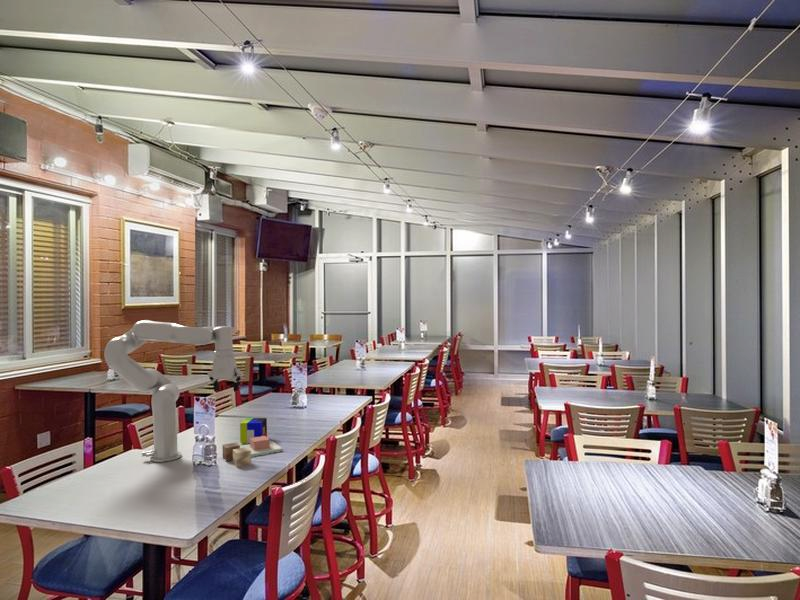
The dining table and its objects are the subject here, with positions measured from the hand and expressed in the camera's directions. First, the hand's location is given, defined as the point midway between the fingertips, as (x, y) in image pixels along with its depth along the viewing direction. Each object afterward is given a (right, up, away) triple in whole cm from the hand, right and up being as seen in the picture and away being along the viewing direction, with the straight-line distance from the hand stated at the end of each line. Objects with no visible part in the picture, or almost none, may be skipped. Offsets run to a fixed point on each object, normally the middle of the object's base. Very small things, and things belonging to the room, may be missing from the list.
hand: (226, 391), depth 231 cm
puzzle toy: (+7, -28, +18) cm, 34 cm away
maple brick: (+12, -28, -16) cm, 35 cm away
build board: (+14, -28, +3) cm, 31 cm away
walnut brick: (+5, -28, -9) cm, 30 cm away
